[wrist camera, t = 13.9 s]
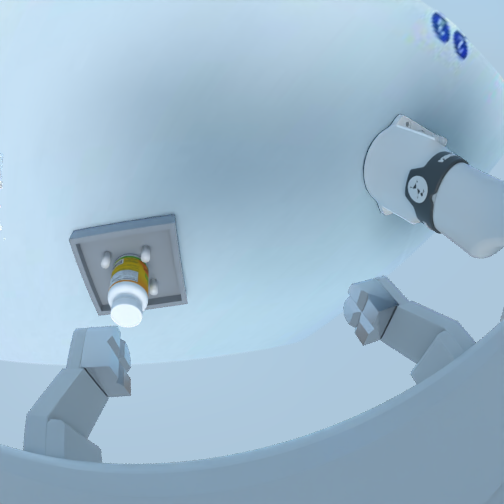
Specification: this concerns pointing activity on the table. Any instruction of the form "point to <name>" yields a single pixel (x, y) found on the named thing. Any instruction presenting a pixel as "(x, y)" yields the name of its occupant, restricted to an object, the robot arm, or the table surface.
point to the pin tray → (137, 243)
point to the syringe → (0, 161)
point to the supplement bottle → (128, 290)
